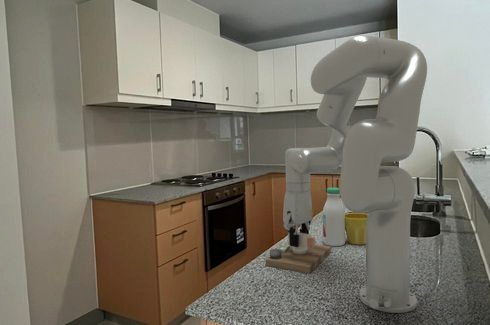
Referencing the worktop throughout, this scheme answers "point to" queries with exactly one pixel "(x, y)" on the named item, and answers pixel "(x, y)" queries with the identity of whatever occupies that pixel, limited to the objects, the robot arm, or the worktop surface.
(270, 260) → the brown lever switch panel
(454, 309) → the worktop surface
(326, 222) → the milk bottle
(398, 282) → the robot arm
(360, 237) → the plant pot
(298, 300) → the worktop surface
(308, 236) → the wing knob
